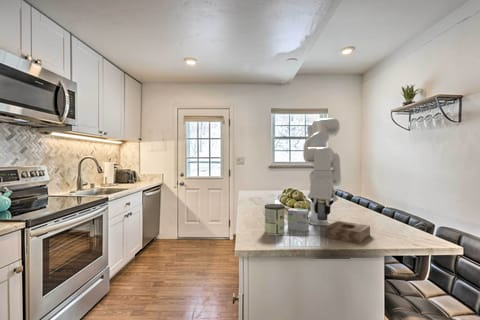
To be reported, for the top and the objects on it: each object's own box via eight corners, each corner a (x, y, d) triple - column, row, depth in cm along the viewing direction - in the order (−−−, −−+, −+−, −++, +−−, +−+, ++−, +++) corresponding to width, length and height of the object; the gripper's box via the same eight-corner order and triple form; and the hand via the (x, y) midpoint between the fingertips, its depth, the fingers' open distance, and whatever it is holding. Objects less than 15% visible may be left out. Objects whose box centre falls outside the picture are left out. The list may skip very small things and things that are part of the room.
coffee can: (268, 229, 144) (268, 203, 144) (286, 231, 140) (286, 204, 140) (261, 234, 135) (261, 206, 135) (281, 236, 130) (281, 207, 130)
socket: (325, 236, 129) (325, 226, 129) (337, 230, 141) (337, 220, 141) (359, 243, 119) (359, 232, 119) (370, 235, 131) (370, 225, 131)
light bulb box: (308, 228, 145) (308, 208, 145) (307, 231, 139) (307, 211, 139) (289, 227, 149) (289, 207, 149) (287, 230, 142) (287, 210, 142)
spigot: (315, 219, 123) (315, 199, 122) (319, 217, 126) (319, 198, 126) (324, 220, 120) (324, 201, 119) (328, 218, 123) (328, 199, 123)
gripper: (301, 173, 125) (301, 212, 125) (337, 175, 114) (337, 217, 114) (309, 172, 131) (309, 209, 131) (343, 174, 119) (343, 214, 120)
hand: (322, 213), depth 123 cm, fingers closed on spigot, 4 cm apart
